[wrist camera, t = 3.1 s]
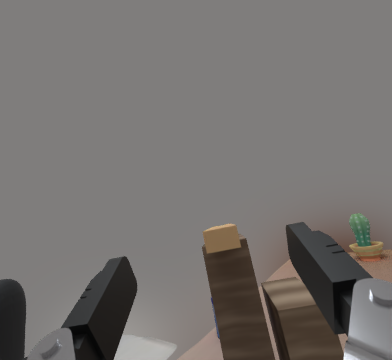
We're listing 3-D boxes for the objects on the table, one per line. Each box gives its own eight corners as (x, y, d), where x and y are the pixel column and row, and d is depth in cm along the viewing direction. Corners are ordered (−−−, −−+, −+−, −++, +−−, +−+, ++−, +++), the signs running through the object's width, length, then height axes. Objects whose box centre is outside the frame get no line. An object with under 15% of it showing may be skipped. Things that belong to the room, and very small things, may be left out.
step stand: (387, 498, 25) (305, 227, 32) (252, 509, 26) (202, 247, 33) (329, 401, 39) (280, 225, 46) (242, 411, 40) (208, 239, 47)
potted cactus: (396, 257, 110) (378, 210, 116) (373, 264, 107) (356, 215, 112) (367, 254, 125) (353, 213, 130) (347, 260, 121) (332, 217, 127)
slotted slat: (241, 247, 24) (236, 225, 25) (206, 253, 24) (202, 231, 25) (232, 234, 47) (230, 223, 48) (215, 238, 48) (212, 226, 48)
